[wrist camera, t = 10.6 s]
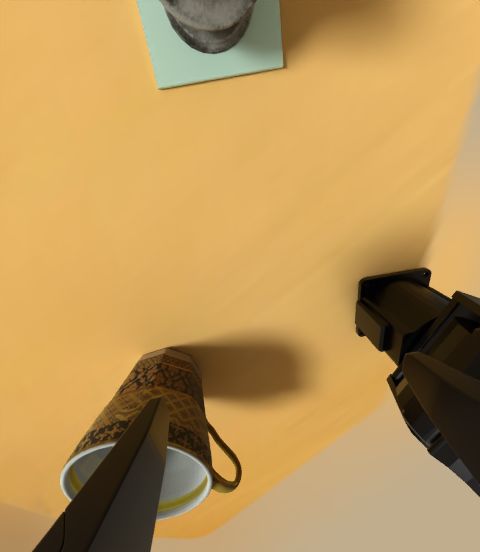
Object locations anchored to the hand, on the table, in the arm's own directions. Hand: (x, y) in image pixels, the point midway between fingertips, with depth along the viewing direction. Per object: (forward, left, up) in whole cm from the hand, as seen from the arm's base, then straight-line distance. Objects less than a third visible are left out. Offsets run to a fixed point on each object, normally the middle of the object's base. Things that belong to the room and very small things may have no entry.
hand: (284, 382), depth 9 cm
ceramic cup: (+9, +12, -13) cm, 20 cm away
